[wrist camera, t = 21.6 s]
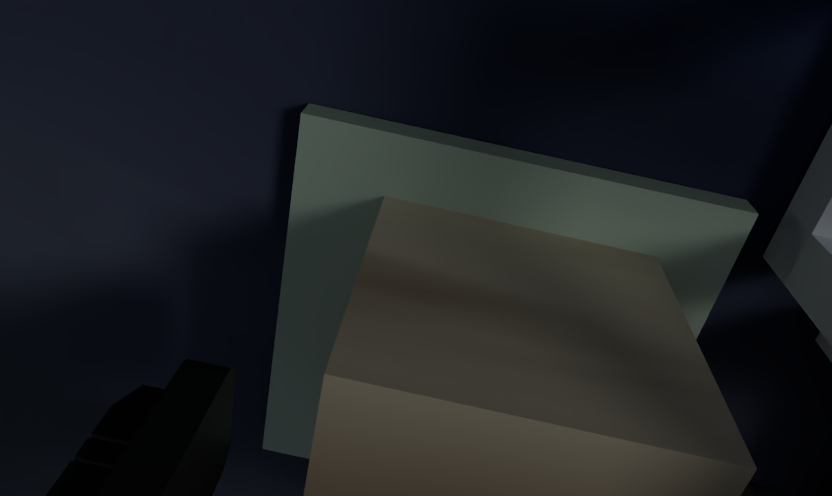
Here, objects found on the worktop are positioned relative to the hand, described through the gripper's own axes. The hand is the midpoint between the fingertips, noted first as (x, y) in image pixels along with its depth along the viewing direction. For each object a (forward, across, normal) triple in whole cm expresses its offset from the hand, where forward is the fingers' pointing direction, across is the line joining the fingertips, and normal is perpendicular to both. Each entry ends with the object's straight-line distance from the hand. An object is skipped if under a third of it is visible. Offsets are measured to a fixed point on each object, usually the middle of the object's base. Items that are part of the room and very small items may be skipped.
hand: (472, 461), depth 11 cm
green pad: (+4, 0, 0) cm, 4 cm away
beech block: (+3, 0, 0) cm, 3 cm away
